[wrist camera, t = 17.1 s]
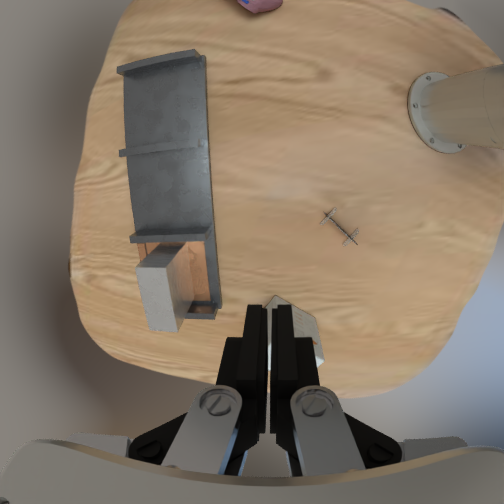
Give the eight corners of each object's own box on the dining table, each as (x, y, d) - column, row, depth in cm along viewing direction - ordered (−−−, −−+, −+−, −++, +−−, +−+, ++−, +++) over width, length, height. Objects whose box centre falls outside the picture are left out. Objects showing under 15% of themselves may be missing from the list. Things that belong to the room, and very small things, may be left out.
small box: (255, 318, 45) (250, 363, 35) (275, 293, 43) (275, 335, 33) (295, 340, 46) (299, 385, 36) (316, 317, 44) (325, 361, 34)
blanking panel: (187, 241, 40) (165, 267, 31) (194, 297, 43) (177, 332, 34) (161, 242, 40) (134, 267, 32) (170, 296, 43) (149, 330, 35)
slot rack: (205, 57, 31) (198, 48, 27) (222, 305, 44) (218, 319, 41) (126, 73, 32) (113, 67, 28) (152, 303, 45) (143, 316, 42)
